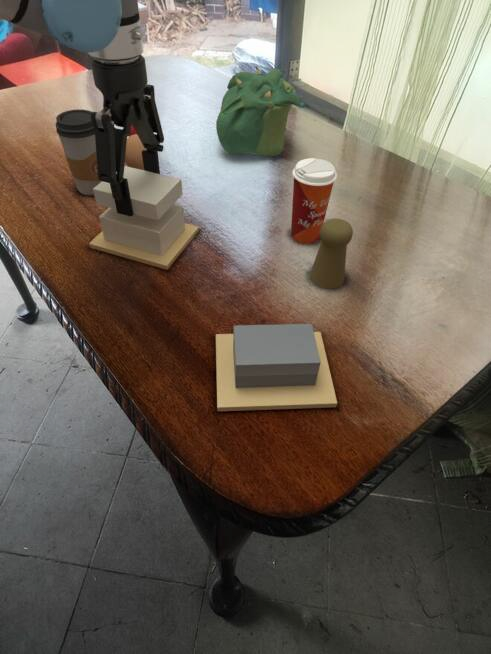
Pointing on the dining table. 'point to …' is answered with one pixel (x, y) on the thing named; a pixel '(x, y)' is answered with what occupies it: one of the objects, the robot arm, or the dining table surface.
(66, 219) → the dining table surface
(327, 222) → the pepper shaker
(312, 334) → the grey stack
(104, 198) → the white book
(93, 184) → the coffee cup
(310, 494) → the dining table surface
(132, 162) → the egg
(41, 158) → the dining table surface
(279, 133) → the decorative sculpture
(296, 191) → the paper cup
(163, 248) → the cream box
